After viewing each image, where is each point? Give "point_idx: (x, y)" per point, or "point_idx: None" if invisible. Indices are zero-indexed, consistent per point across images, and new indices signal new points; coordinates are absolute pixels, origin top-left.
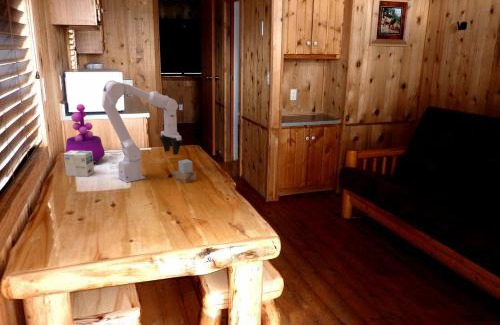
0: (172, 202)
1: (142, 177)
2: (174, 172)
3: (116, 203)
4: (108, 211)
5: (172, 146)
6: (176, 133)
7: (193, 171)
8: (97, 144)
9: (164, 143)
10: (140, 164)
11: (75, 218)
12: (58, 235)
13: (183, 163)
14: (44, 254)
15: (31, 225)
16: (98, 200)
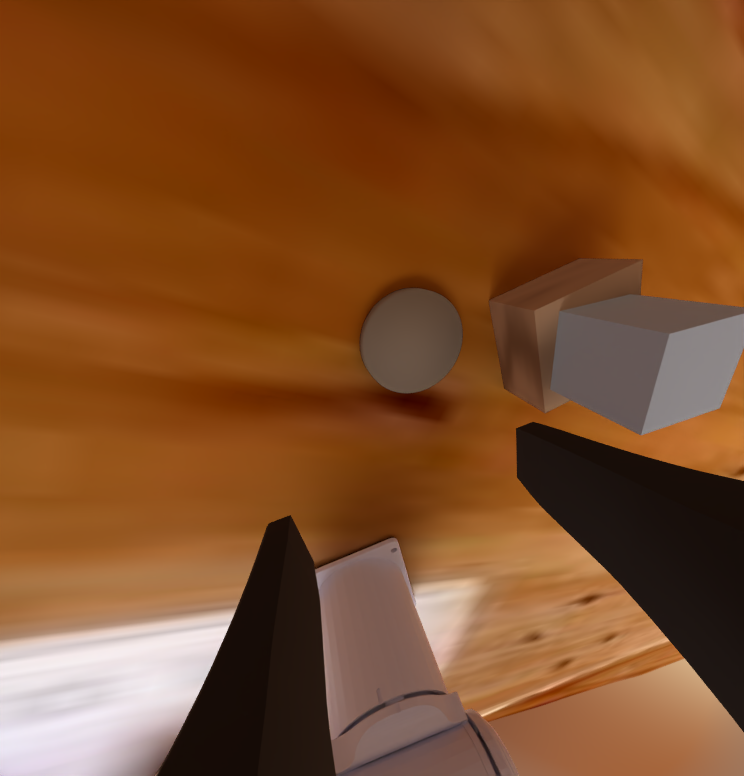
0: (701, 453)
1: (392, 552)
2: (397, 373)
3: (584, 594)
4: (615, 601)
5: (655, 607)
6: None
7: (622, 277)
8: None
9: (330, 762)
10: (412, 644)
11: (598, 647)
12: (642, 647)
13: (715, 404)
14: None
15: (572, 694)
16: (532, 636)
